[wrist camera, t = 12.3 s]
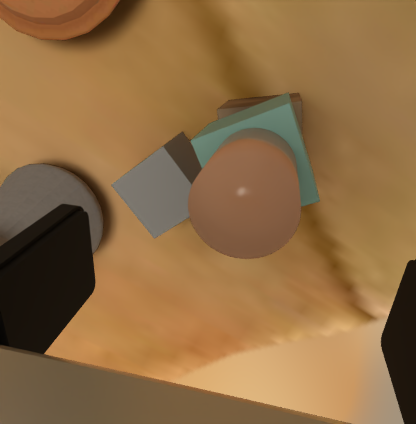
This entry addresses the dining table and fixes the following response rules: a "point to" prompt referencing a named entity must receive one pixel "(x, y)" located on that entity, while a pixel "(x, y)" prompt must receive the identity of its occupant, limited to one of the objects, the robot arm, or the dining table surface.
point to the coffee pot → (44, 199)
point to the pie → (55, 16)
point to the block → (161, 185)
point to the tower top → (266, 119)
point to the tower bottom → (245, 103)
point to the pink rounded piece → (247, 195)
